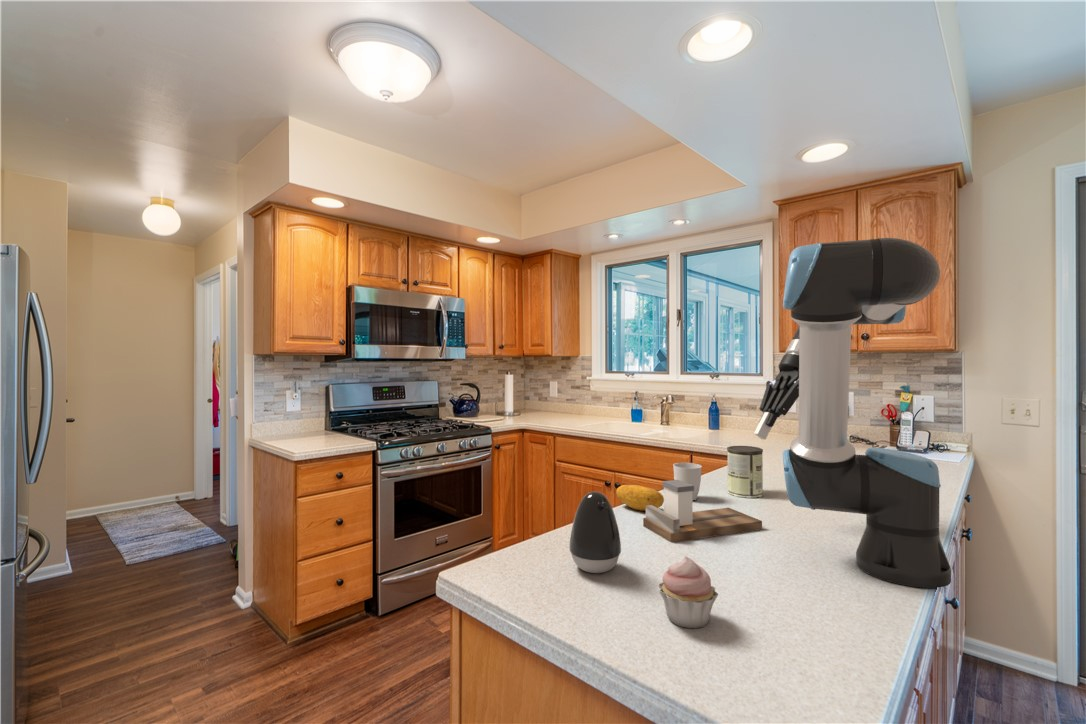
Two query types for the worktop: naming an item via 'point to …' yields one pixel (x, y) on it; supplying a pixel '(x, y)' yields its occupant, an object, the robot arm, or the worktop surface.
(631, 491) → the potato
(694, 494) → the cup
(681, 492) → the fader tab
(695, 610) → the cupcake
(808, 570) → the worktop surface
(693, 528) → the board
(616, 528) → the dark egg-shaped tumbler
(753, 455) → the coffee can
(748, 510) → the worktop surface
